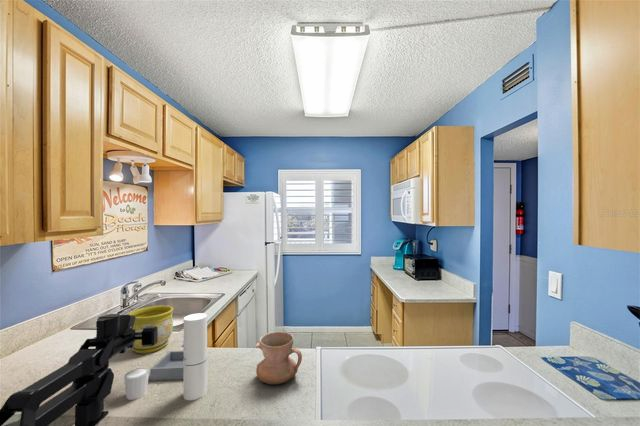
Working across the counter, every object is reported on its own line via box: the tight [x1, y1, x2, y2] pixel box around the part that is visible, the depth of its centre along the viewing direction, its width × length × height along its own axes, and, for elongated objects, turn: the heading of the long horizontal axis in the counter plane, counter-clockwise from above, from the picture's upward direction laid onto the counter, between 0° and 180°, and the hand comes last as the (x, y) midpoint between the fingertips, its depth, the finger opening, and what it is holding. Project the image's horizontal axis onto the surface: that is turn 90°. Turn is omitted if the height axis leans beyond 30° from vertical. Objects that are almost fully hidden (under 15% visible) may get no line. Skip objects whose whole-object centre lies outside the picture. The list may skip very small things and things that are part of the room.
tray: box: [149, 350, 184, 381], centre depth 106 cm, size 14×14×4 cm
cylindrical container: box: [182, 312, 208, 401], centre depth 91 cm, size 7×7×25 cm
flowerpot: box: [127, 305, 174, 354], centre depth 126 cm, size 18×18×16 cm
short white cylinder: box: [123, 367, 150, 401], centre depth 91 cm, size 7×7×7 cm
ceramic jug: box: [254, 331, 303, 385], centre depth 100 cm, size 18×14×14 cm
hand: (143, 329), depth 105 cm, fingers open, 9 cm apart
